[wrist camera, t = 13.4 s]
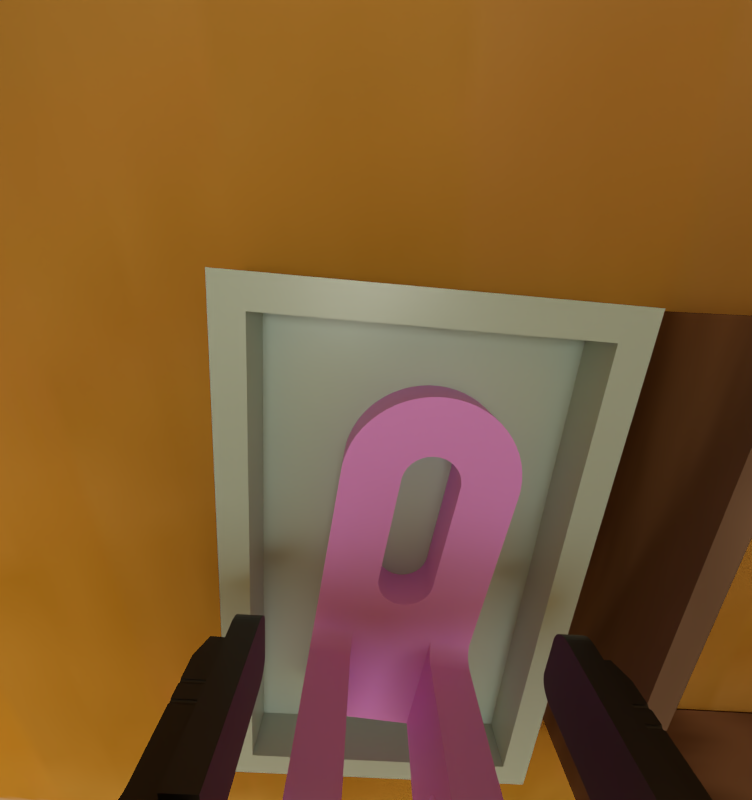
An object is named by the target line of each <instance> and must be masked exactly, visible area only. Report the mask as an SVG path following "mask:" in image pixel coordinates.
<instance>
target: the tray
mask: <svg viewBox="0 0 752 800" xmlns="http://www.w3.org/2000/svg"><path fill="white" fill-rule="evenodd" d="M205 276H206V299H207V321H208V343H209V366H210V388H211V411H212V433H213V455H214V478H215V500H216V522H217V545H218V567H219V589H220V612H221V634H222V637H225V636H226V633H227V631H228V629H229V627H230V624H231V622H232V620H233V618H234V616H235V615H236V614H248V615H264V616H265V664H264V671H263V676H262V681H261V685H260V688H259V692H258V695H257V699H256V702H255V706H254V709H253V713H252V716H251V719H250V723H249V726H248V730H247V733H246V737H245V740H244V744H243V747H242V751H241V754H240V758H239V761H238V764H237V768H236V771H235V772H256V773H278V774H287V773H288V767H289V762H290V756H291V750H292V745H293V739H294V734H295V728H296V722H297V717H298V711H299V705H300V700H301V694H302V689H303V683H304V677H305V672H306V666H307V661H308V655H309V649H310V644H311V638H312V632H313V627H314V621H315V615H316V610H317V604H318V598H319V593H320V587H321V581H322V575H323V570H324V564H325V558H326V553H327V547H328V541H329V536H330V530H331V524H332V519H333V513H334V507H335V501H336V496H337V490H338V484H339V479H340V473H341V467H342V462H343V456H344V451H345V447H346V442H347V440H348V437H349V434H350V432H351V430H352V428H353V427H354V425H355V424H356V422H357V421H358V419H359V418H360V417H361V416H362V414H363V413H364V412H365V411H366V410H367V409H368V408H369V407H370V406H372V405H373V404H374V403H376V402H377V401H378V400H380V399H382V398H383V397H385V396H387V395H389V394H391V393H393V392H396V391H399V390H401V389H405V388H409V387H415V386H426V385H432V386H442V387H447V388H451V389H454V390H458V391H460V392H462V393H465V394H467V395H468V396H470V397H472V398H474V399H475V400H476V401H478V402H479V403H480V404H482V405H483V406H484V407H485V408H486V409H487V410H488V411H489V412H490V413H491V414H492V415H493V416H494V417H495V418H496V419H497V420H498V421H499V422H500V423H501V424H502V425H503V426H504V427H505V428H506V430H507V431H508V432H509V434H510V435H511V437H512V438H513V440H514V442H515V444H516V446H517V449H518V452H519V455H520V459H521V464H522V485H521V491H520V495H519V498H518V501H517V504H516V507H515V510H514V513H513V516H512V519H511V522H510V525H509V528H508V531H507V534H506V537H505V540H504V543H503V546H502V549H501V552H500V555H499V558H498V561H497V564H496V567H495V570H494V573H493V576H492V579H491V582H490V585H489V588H488V591H487V594H486V597H485V600H484V603H483V606H482V609H481V612H480V615H479V618H478V621H477V624H476V627H475V630H474V633H473V636H472V639H471V642H470V645H469V650H468V664H469V670H470V674H471V678H472V682H473V686H474V689H475V693H476V697H477V701H478V705H479V709H480V712H481V716H482V720H483V724H484V728H485V732H486V735H487V739H488V743H489V747H490V751H491V755H492V758H493V762H494V766H495V770H496V774H497V778H498V781H499V783H502V784H523V782H524V779H525V775H526V772H527V769H528V765H529V762H530V759H531V755H532V752H533V749H534V745H535V742H536V739H537V735H538V732H539V729H540V725H541V722H542V719H543V715H544V712H545V709H546V705H547V702H548V701H547V698H546V694H545V690H544V681H543V678H544V671H545V668H546V664H547V661H548V657H549V654H550V650H551V647H552V643H553V640H554V637H555V636H556V635H557V634H567V635H568V632H569V629H570V625H571V622H572V619H573V615H574V612H575V609H576V605H577V602H578V599H579V595H580V592H581V589H582V585H583V582H584V579H585V575H586V572H587V569H588V565H589V562H590V559H591V555H592V552H593V549H594V545H595V542H596V539H597V535H598V532H599V528H600V525H601V522H602V518H603V515H604V512H605V508H606V505H607V502H608V498H609V495H610V492H611V488H612V485H613V482H614V478H615V475H616V472H617V468H618V465H619V462H620V458H621V455H622V452H623V448H624V445H625V442H626V438H627V435H628V432H629V428H630V425H631V422H632V418H633V415H634V412H635V408H636V405H637V402H638V398H639V395H640V392H641V388H642V385H643V382H644V378H645V375H646V372H647V368H648V365H649V362H650V358H651V355H652V352H653V348H654V345H655V342H656V338H657V335H658V332H659V328H660V325H661V322H662V318H663V315H664V312H665V308H654V307H643V306H632V305H621V304H610V303H598V302H587V301H576V300H565V299H554V298H543V297H531V296H520V295H509V294H498V293H487V292H476V291H465V290H453V289H442V288H431V287H420V286H409V285H398V284H387V283H375V282H364V281H353V280H342V279H331V278H320V277H309V276H297V275H286V274H275V273H264V272H253V271H242V270H231V269H219V268H208V267H205ZM451 466H452V463H451V462H449V461H448V460H446V459H443V458H439V457H426V458H422V459H419V460H417V461H415V462H414V463H412V464H411V465H410V466H409V467H408V468H407V469H406V471H405V472H404V474H403V476H402V479H401V484H400V488H399V492H398V497H397V501H396V505H395V510H394V514H393V519H392V523H391V527H390V532H389V536H388V540H387V545H386V549H385V553H384V558H383V562H382V566H383V567H384V568H385V569H386V570H387V571H389V572H391V573H394V574H401V575H402V574H410V573H413V572H415V571H417V570H418V569H420V568H421V567H422V566H423V565H424V563H425V561H426V559H427V556H428V552H429V548H430V545H431V541H432V537H433V533H434V530H435V526H436V522H437V519H438V515H439V511H440V507H441V504H442V500H443V496H444V493H445V489H446V485H447V481H448V478H449V474H450V470H451ZM343 776H345V777H368V778H390V779H411V771H410V759H409V746H408V734H407V723H399V722H391V721H383V720H374V719H366V718H358V717H349V716H347V718H346V734H345V751H344V767H343Z"/></svg>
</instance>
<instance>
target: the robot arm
mask: <svg viewBox="0 0 752 800" xmlns="http://www.w3.org/2000/svg"><path fill="white" fill-rule="evenodd" d="M264 664H265V616H264V615H248V614H236V615H235V616H234V618H233V620H232V622H231V624H230V627H229V629H228V631H227V633H226V636H225V637H214V636H210V637H209V638H208V639H207V640H206V641H205V643H204V644H203V645H202V646H201V647H200V648H199V649H198V650H197V651H196V652H195V653H194V654H193V655H192V657H191V659H190V661H189V663H188V665H187V667H186V669H185V671H184V673H183V675H182V677H181V681H180V683H178V685H177V687H176V689H175V691H174V693H173V695H172V697H171V701H170V703H169V704H168V705H167V707H166V709H165V711H164V713H163V715H162V717H161V719H160V721H159V723H158V725H157V727H156V729H155V731H154V733H153V735H152V737H151V739H150V741H149V743H148V745H147V747H146V749H145V751H144V753H143V755H142V757H141V759H140V761H139V763H138V765H137V767H136V769H135V771H134V773H133V775H132V777H131V779H130V781H129V782H128V784H127V786H126V788H125V790H124V792H123V793H122V795H121V796H120V798H119V799H118V800H227V799H228V796H229V792H230V789H231V785H232V782H233V778H234V775H235V771H236V768H237V764H238V761H239V758H240V754H241V751H242V747H243V744H244V740H245V737H246V733H247V730H248V726H249V723H250V719H251V716H252V713H253V709H254V706H255V702H256V699H257V695H258V692H259V688H260V685H261V681H262V676H263V671H264ZM543 681H544V690H545V694H546V698H547V701H548V703H549V706H550V708H551V710H552V713H553V715H554V717H555V720H556V722H557V724H558V727H559V729H560V731H561V733H562V736H563V738H564V740H565V743H566V745H567V747H568V750H569V752H570V754H571V757H572V759H573V761H574V763H575V766H576V768H577V770H578V773H579V775H580V777H581V780H582V782H583V784H584V787H585V789H586V791H587V793H588V796H589V798H590V800H712V798H711V797H710V795H709V794H708V792H707V791H706V789H705V788H704V786H703V785H702V783H701V782H700V781H699V779H698V778H697V776H696V775H695V773H694V772H693V770H692V769H691V767H690V766H689V764H688V763H687V761H686V760H685V758H684V757H683V755H682V754H681V752H680V751H679V749H678V748H677V747H676V745H675V744H674V742H673V741H672V739H671V738H670V736H669V735H668V733H667V732H666V731H665V730H663V728H662V724H661V723H660V721H659V720H658V718H657V717H656V715H655V714H654V713H653V711H652V710H650V709H649V707H648V704H647V702H646V701H645V699H644V698H643V696H642V695H641V693H640V692H639V690H638V689H637V687H636V686H635V684H634V683H633V681H632V680H631V679H630V678H629V677H628V676H627V675H626V674H624V673H623V672H622V671H621V670H620V669H619V668H618V667H617V666H616V665H615V664H614V663H613V662H612V661H611V660H604V659H603V658H602V656H601V655H600V653H599V651H598V650H597V648H596V647H595V645H594V644H593V642H592V641H591V640H590V639H589V638H588V637H587V636H584V635H567V634H557V635H556V636H555V637H554V640H553V643H552V647H551V650H550V654H549V657H548V661H547V664H546V668H545V671H544V678H543Z"/></svg>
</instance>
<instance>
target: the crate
mask: <svg viewBox="0 0 752 800" xmlns="http://www.w3.org/2000/svg"><path fill="white" fill-rule="evenodd" d="M751 538H752V316H747V315H727V314H706V313H686V312H664V315H663V318H662V322H661V325H660V328H659V332H658V335H657V338H656V342H655V345H654V348H653V352H652V355H651V358H650V362H649V365H648V368H647V372H646V375H645V378H644V382H643V385H642V388H641V392H640V395H639V398H638V402H637V405H636V408H635V412H634V415H633V418H632V422H631V425H630V428H629V432H628V435H627V438H626V442H625V445H624V448H623V452H622V455H621V458H620V462H619V465H618V468H617V472H616V475H615V478H614V482H613V485H612V488H611V492H610V495H609V498H608V502H607V505H606V508H605V512H604V515H603V518H602V522H601V525H600V528H599V532H598V535H597V539H596V542H595V545H594V549H593V552H592V555H591V559H590V562H589V565H588V569H587V572H586V575H585V579H584V582H583V585H582V589H581V592H580V595H579V599H578V602H577V605H576V609H575V612H574V615H573V619H572V622H571V625H570V629H569V632H568V635H584V636H587V637H588V638H589V639H590V640H591V641H592V642H593V644H594V645H595V647H596V648H597V650H598V651H599V653H600V655H601V656H602V658H603V659H604V660H611V661H612V662H613V663H614V664H615V665H616V666H617V667H618V668H619V669H620V670H621V671H622V672H623V673H624V674H626V675H627V676H628V677H629V678H630V679H631V680H632V681H633V683H634V684H635V686H636V687H637V689H638V690H639V692H640V693H641V695H642V696H643V698H644V699H645V701H646V702H647V704H648V707H649V709H650V710H652V711H653V713H654V714H655V715H656V717H657V718H658V720H659V721H660V723H661V724H662V728H663V730H665V731H666V732H667V733H668V735H669V736H670V738H671V739H672V741H673V742H674V744H675V745H676V747H677V748H678V749H679V751H680V752H681V754H682V755H683V757H684V758H685V760H686V761H687V763H688V764H689V766H690V767H691V769H692V770H693V772H694V773H695V775H696V776H697V778H698V779H699V781H700V782H701V783H702V785H703V786H704V788H705V789H706V791H707V792H708V794H709V795H710V797H711V798H712V800H752V713H734V712H715V711H696V710H677V709H676V708H677V706H678V704H679V702H680V699H681V697H682V695H683V693H684V690H685V688H686V686H687V683H688V681H689V679H690V677H691V674H692V672H693V670H694V668H695V665H696V663H697V661H698V658H699V656H700V654H701V652H702V649H703V647H704V645H705V643H706V640H707V638H708V636H709V633H710V631H711V629H712V627H713V624H714V622H715V620H716V618H717V615H718V613H719V611H720V608H721V606H722V604H723V602H724V599H725V597H726V595H727V593H728V590H729V588H730V586H731V583H732V581H733V579H734V577H735V574H736V572H737V570H738V568H739V565H740V563H741V561H742V559H743V556H744V554H745V552H746V549H747V547H748V545H749V543H750V540H751ZM543 720H544V722H545V725H546V727H547V730H548V732H549V735H550V737H551V740H552V742H553V745H554V747H555V750H556V752H557V754H558V757H559V759H560V762H561V764H562V767H563V769H564V772H565V774H566V777H567V779H568V782H569V784H570V787H571V789H572V792H573V794H574V797H575V799H576V800H590V798H589V796H588V793H587V791H586V789H585V787H584V784H583V782H582V780H581V777H580V775H579V773H578V770H577V768H576V766H575V763H574V761H573V759H572V757H571V754H570V752H569V750H568V747H567V745H566V743H565V740H564V738H563V736H562V733H561V731H560V729H559V727H558V724H557V722H556V720H555V717H554V715H553V713H552V710H551V708H550V706H549V703H548V702H547V705H546V709H545V712H544V715H543Z"/></svg>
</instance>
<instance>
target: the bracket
mask: <svg viewBox="0 0 752 800" xmlns="http://www.w3.org/2000/svg"><path fill="white" fill-rule="evenodd" d="M426 457H439V458H443V459H446V460H448V461H449V462H451V463H452V466H451V470H450V474H449V478H448V481H447V485H446V489H445V493H444V496H443V500H442V504H441V507H440V511H439V515H438V519H437V522H436V526H435V530H434V533H433V537H432V541H431V545H430V548H429V552H428V556H427V559H426V561H425V563H424V565H423V566H422V567H421V568H420V569H418V570H417V571H415V572H413V573H410V574H402V575H401V574H394V573H391V572H389V571H387V570H386V569H385V568H384V567H383V566H382V562H383V558H384V553H385V549H386V545H387V540H388V536H389V532H390V527H391V523H392V519H393V514H394V510H395V505H396V501H397V497H398V492H399V488H400V484H401V479H402V476H403V474H404V472H405V471H406V469H407V468H408V467H409V466H410V465H411V464H412V463H414V462H415V461H417V460H419V459H422V458H426ZM521 485H522V464H521V459H520V455H519V452H518V449H517V446H516V444H515V442H514V440H513V438H512V437H511V435H510V434H509V432H508V431H507V430H506V428H505V427H504V426H503V425H502V424H501V423H500V422H499V421H498V420H497V419H496V418H495V417H494V416H493V415H492V414H491V413H490V412H489V411H488V410H487V409H486V408H485V407H484V406H483V405H482V404H480V403H479V402H478V401H476V400H475V399H474V398H472V397H470V396H468V395H467V394H465V393H462V392H460V391H458V390H454V389H451V388H447V387H442V386H432V385H426V386H415V387H409V388H405V389H401V390H399V391H396V392H393V393H391V394H389V395H387V396H385V397H383V398H382V399H380V400H378V401H377V402H376V403H374V404H373V405H372V406H370V407H369V408H368V409H367V410H366V411H365V412H364V413H363V414H362V416H361V417H360V418H359V419H358V421H357V422H356V424H355V425H354V427H353V428H352V430H351V432H350V434H349V437H348V440H347V442H346V447H345V451H344V456H343V462H342V467H341V473H340V479H339V484H338V490H337V496H336V501H335V507H334V513H333V519H332V524H331V530H330V536H329V541H328V547H327V553H326V558H325V564H324V570H323V575H322V581H321V587H320V593H319V598H318V604H317V610H316V615H315V621H314V627H313V632H312V638H311V644H310V649H309V655H308V661H307V666H306V672H305V677H304V683H303V689H302V694H301V700H300V705H299V711H298V717H297V722H296V728H295V734H294V739H293V745H292V750H291V756H290V762H289V767H288V773H287V779H286V784H285V790H284V795H283V800H341V797H342V783H343V767H344V751H345V734H346V718H347V716H349V717H358V718H366V719H374V720H383V721H391V722H399V723H407V734H408V746H409V759H410V771H411V784H412V796H413V800H503V797H502V793H501V789H500V785H499V781H498V778H497V774H496V770H495V766H494V762H493V758H492V755H491V751H490V747H489V743H488V739H487V735H486V732H485V728H484V724H483V720H482V716H481V712H480V709H479V705H478V701H477V697H476V693H475V689H474V686H473V682H472V678H471V674H470V670H469V664H468V650H469V645H470V642H471V639H472V636H473V633H474V630H475V627H476V624H477V621H478V618H479V615H480V612H481V609H482V606H483V603H484V600H485V597H486V594H487V591H488V588H489V585H490V582H491V579H492V576H493V573H494V570H495V567H496V564H497V561H498V558H499V555H500V552H501V549H502V546H503V543H504V540H505V537H506V534H507V531H508V528H509V525H510V522H511V519H512V516H513V513H514V510H515V507H516V504H517V501H518V498H519V495H520V491H521Z"/></svg>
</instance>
